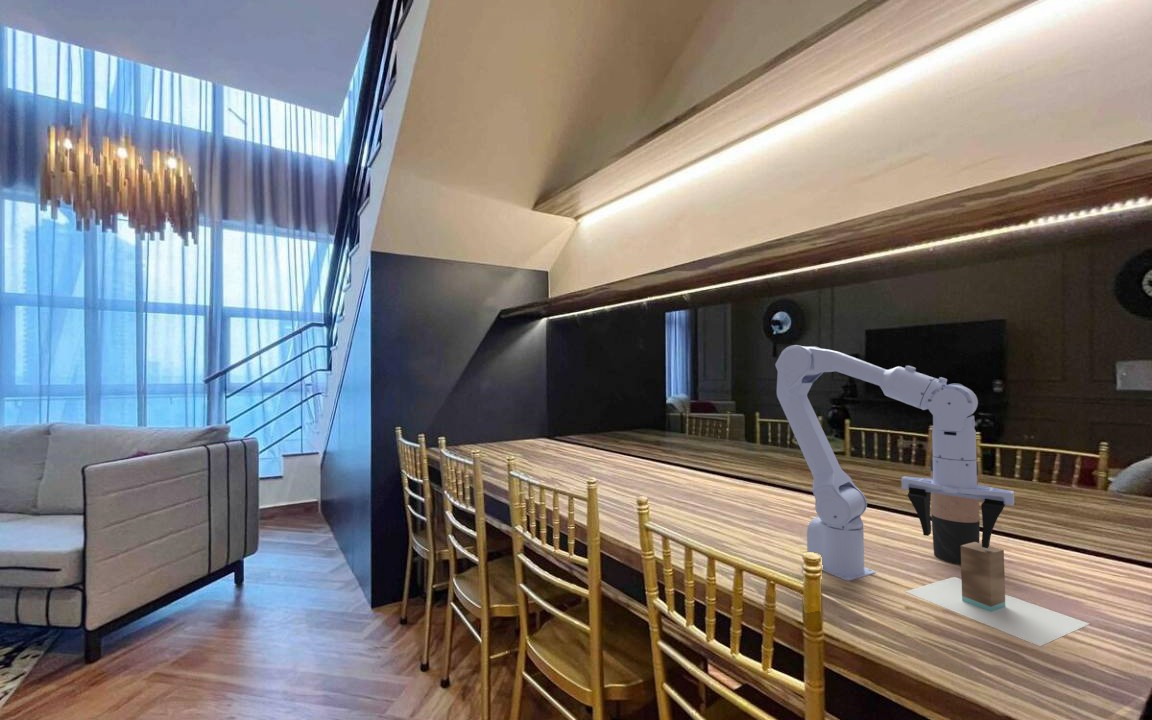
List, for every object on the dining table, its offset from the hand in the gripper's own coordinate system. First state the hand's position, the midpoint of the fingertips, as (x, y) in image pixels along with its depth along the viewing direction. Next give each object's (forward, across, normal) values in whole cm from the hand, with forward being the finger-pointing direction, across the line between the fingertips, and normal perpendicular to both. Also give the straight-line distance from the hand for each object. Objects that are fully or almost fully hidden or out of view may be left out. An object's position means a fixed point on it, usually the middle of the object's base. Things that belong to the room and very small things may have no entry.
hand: (955, 540), depth 79 cm
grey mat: (+10, +4, +1) cm, 11 cm away
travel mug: (+10, -3, +22) cm, 24 cm away
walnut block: (+10, +3, +1) cm, 10 cm away
